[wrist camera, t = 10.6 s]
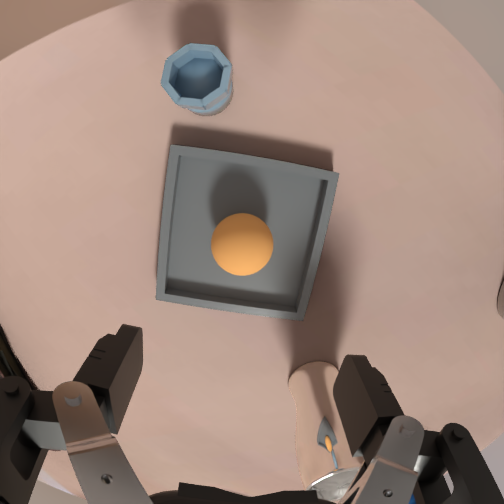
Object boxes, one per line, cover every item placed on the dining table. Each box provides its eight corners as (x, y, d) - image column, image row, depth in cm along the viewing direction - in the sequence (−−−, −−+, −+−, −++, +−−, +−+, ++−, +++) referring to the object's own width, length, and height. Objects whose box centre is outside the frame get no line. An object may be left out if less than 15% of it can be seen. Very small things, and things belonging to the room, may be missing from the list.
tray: (333, 171, 27) (339, 173, 25) (300, 311, 31) (303, 320, 29) (175, 144, 25) (170, 144, 24) (160, 291, 30) (155, 299, 28)
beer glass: (277, 368, 33) (294, 482, 19) (337, 349, 33) (381, 456, 19) (291, 406, 36) (309, 508, 21) (345, 389, 35) (381, 487, 21)
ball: (275, 212, 27) (282, 227, 22) (265, 266, 29) (269, 290, 24) (218, 203, 27) (212, 216, 22) (210, 257, 28) (203, 280, 24)
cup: (237, 71, 24) (235, 47, 17) (228, 119, 25) (223, 109, 18) (187, 66, 23) (169, 42, 17) (178, 113, 25) (157, 102, 18)
